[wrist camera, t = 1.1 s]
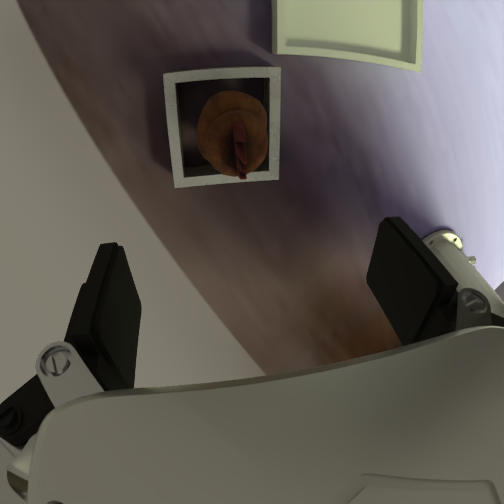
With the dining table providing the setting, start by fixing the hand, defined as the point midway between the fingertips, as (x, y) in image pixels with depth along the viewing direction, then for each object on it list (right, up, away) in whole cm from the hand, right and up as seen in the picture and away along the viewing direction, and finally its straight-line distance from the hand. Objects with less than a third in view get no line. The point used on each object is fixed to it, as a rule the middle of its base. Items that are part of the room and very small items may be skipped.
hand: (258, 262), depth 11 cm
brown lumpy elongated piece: (-3, +14, +19) cm, 23 cm away
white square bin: (-3, +13, +19) cm, 23 cm away
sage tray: (+10, +27, +11) cm, 30 cm away
